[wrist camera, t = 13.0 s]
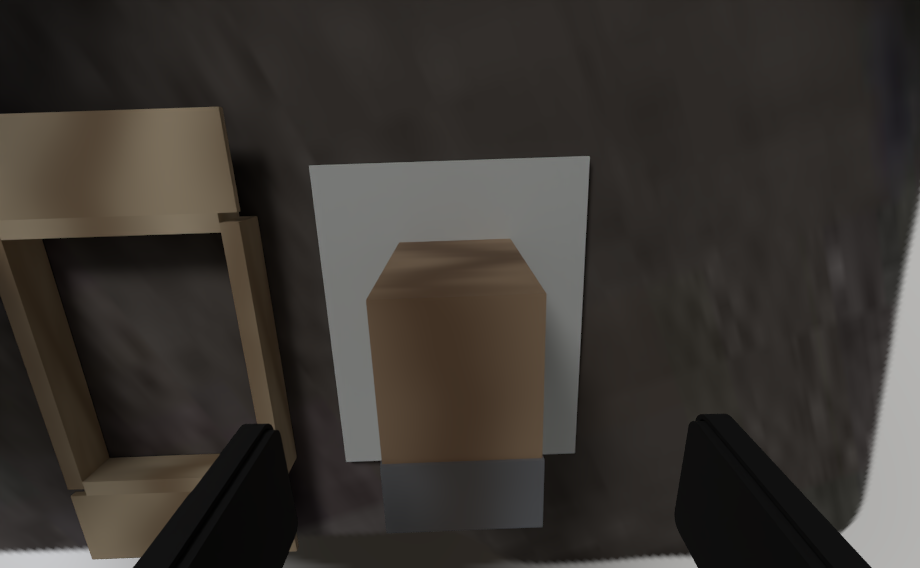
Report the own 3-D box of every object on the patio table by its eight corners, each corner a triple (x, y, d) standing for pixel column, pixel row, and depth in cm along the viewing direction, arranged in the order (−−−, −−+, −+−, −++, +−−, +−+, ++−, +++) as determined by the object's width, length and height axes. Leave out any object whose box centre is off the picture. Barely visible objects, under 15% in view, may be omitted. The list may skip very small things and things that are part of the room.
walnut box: (511, 238, 20) (548, 294, 12) (511, 395, 22) (542, 527, 14) (398, 242, 20) (363, 301, 12) (409, 399, 22) (386, 533, 14)
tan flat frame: (240, 110, 19) (218, 106, 17) (307, 523, 25) (297, 551, 23) (-15, 119, 19) (-63, 115, 17) (117, 531, 25) (92, 559, 23)
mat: (587, 156, 19) (590, 156, 19) (572, 448, 24) (574, 453, 23) (311, 165, 19) (309, 165, 19) (347, 456, 24) (346, 461, 23)
